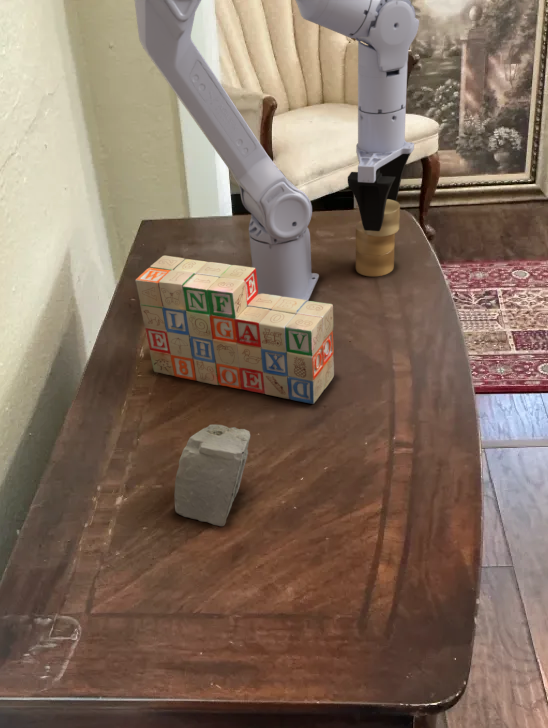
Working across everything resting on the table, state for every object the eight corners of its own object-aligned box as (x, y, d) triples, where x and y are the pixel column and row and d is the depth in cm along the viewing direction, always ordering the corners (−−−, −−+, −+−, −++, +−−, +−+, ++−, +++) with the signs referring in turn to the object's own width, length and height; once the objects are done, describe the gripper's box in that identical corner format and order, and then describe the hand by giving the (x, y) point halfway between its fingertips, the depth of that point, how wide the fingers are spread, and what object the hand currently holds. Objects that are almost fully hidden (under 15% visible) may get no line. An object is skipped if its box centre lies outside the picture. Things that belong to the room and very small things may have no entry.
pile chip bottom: (359, 258, 121) (359, 237, 119) (396, 260, 120) (397, 239, 118) (352, 275, 118) (352, 254, 116) (390, 277, 116) (391, 256, 114)
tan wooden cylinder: (367, 219, 116) (367, 197, 114) (403, 222, 115) (403, 199, 113) (358, 235, 113) (358, 212, 111) (394, 237, 112) (395, 215, 110)
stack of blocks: (335, 376, 100) (333, 277, 92) (314, 406, 96) (309, 305, 88) (177, 346, 108) (162, 252, 100) (151, 372, 104) (133, 277, 96)
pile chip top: (359, 237, 119) (359, 216, 117) (397, 239, 118) (397, 217, 116) (352, 254, 116) (352, 233, 114) (391, 256, 114) (391, 234, 112)
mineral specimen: (257, 527, 81) (231, 461, 76) (177, 528, 85) (147, 465, 80) (278, 476, 86) (255, 411, 81) (201, 479, 90) (174, 417, 85)
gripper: (400, 128, 98) (396, 243, 107) (427, 87, 107) (422, 196, 116) (340, 126, 100) (341, 239, 109) (372, 86, 109) (371, 193, 119)
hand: (379, 217), depth 113 cm, fingers open, 7 cm apart
